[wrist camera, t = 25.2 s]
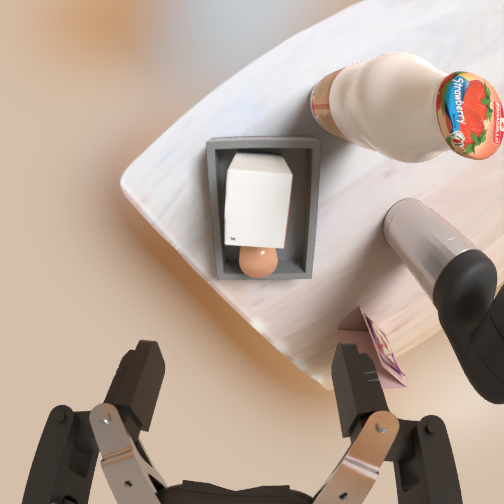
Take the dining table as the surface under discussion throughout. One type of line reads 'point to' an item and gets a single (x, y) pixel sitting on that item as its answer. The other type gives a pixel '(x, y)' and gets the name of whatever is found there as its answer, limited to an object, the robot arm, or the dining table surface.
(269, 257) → the peach rounded piece
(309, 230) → the tote
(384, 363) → the greeting card
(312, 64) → the dining table surface
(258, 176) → the small box
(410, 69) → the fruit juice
